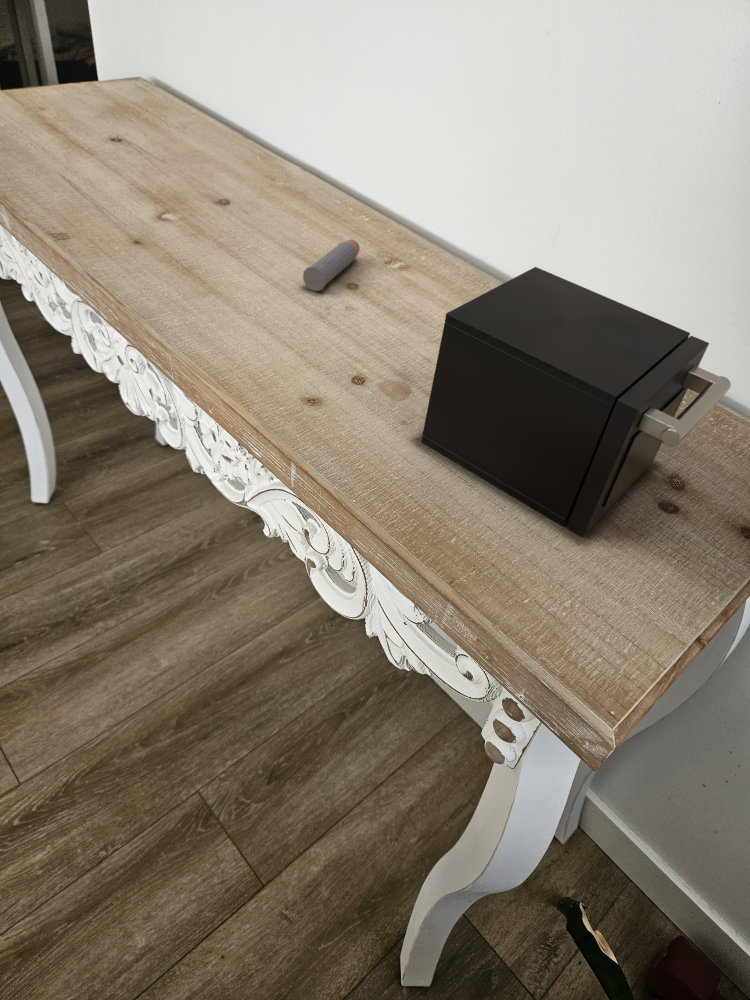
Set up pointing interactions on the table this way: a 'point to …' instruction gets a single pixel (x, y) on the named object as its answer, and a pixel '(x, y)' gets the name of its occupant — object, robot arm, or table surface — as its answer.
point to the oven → (537, 384)
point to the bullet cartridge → (330, 265)
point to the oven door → (646, 428)
